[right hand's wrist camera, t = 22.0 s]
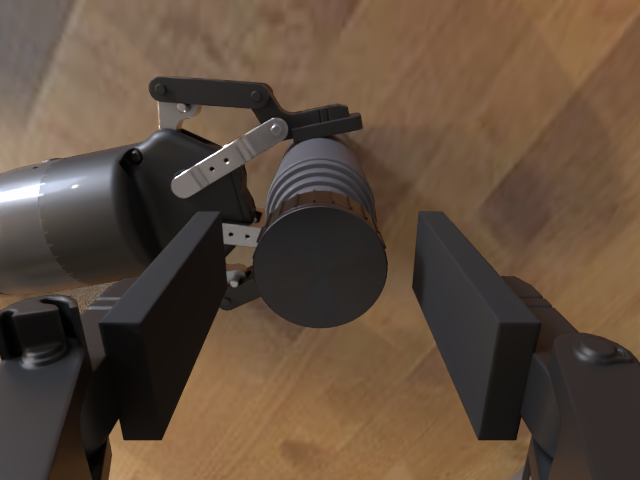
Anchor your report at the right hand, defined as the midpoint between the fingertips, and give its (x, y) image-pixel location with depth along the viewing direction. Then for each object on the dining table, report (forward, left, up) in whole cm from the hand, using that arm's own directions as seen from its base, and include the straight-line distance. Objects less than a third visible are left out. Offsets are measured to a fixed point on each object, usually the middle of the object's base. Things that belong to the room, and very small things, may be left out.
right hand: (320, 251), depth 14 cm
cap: (0, 0, +1) cm, 1 cm away
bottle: (0, 0, -17) cm, 17 cm away
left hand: (+1, +2, -11) cm, 11 cm away
